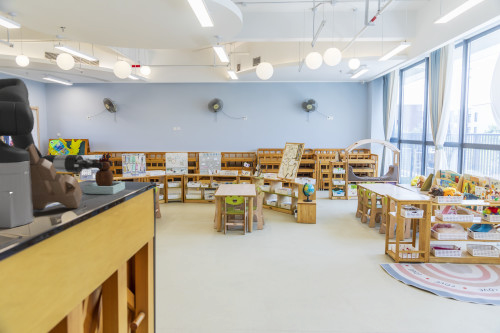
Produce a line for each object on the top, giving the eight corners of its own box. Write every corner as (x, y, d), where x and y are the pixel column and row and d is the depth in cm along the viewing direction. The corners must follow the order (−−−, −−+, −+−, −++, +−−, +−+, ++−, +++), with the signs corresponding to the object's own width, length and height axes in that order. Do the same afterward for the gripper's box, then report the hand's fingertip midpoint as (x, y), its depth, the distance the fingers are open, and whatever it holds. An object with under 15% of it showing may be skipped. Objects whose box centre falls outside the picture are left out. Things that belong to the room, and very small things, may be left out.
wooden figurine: (115, 186, 136) (114, 152, 134) (108, 188, 130) (107, 152, 128) (101, 185, 137) (99, 151, 135) (93, 188, 131) (91, 152, 129)
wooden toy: (83, 193, 109) (64, 135, 93) (78, 208, 104) (56, 149, 88) (35, 194, 106) (5, 134, 90) (27, 209, 102) (-6, 149, 85)
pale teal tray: (113, 194, 128) (113, 186, 127) (83, 193, 128) (83, 186, 127) (124, 188, 140) (124, 182, 139) (98, 188, 140) (97, 181, 139)
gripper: (58, 156, 125) (98, 156, 125) (77, 153, 139) (114, 154, 139) (59, 174, 126) (99, 175, 126) (78, 170, 140) (114, 170, 140)
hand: (107, 164), depth 132 cm, fingers open, 8 cm apart
